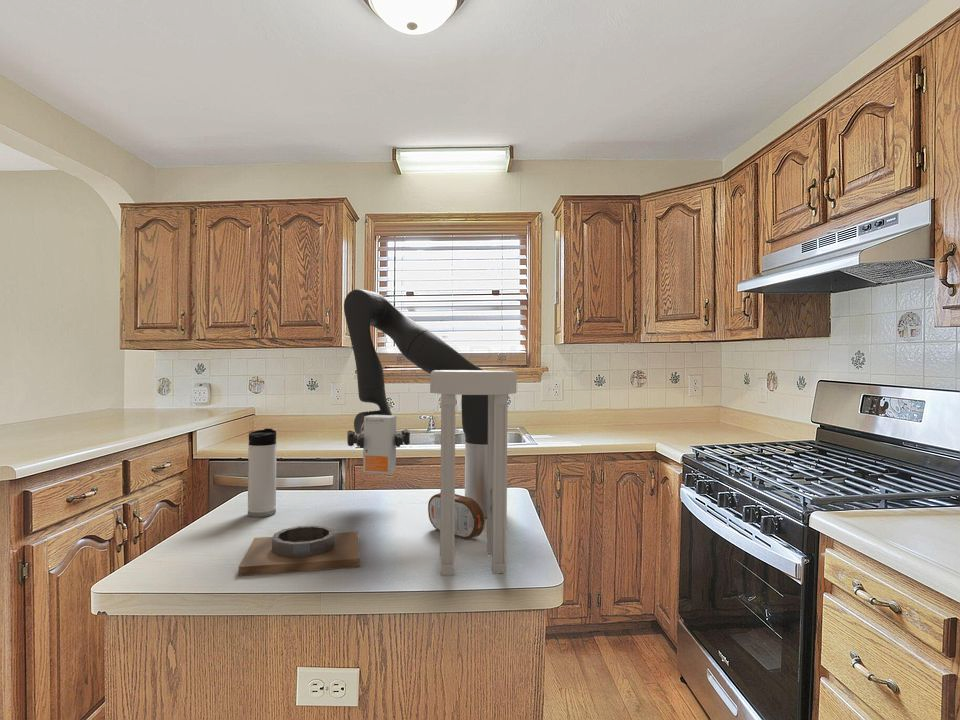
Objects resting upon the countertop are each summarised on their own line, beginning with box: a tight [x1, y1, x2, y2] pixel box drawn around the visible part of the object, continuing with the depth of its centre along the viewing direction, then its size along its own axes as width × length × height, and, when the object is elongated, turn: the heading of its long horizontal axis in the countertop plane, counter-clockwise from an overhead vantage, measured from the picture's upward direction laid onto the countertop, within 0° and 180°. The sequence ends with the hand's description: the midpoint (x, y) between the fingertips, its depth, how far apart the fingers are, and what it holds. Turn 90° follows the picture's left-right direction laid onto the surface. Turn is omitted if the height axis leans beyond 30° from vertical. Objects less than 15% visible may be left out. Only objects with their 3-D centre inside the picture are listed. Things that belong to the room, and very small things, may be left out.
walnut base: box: [238, 531, 360, 576], centre depth 104 cm, size 20×16×2 cm
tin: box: [427, 492, 486, 540], centre depth 118 cm, size 15×3×8 cm, turn 47°
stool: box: [429, 369, 518, 576], centre depth 101 cm, size 16×16×35 cm
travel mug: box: [247, 427, 277, 518], centre depth 133 cm, size 6×7×20 cm
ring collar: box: [272, 524, 336, 558], centre depth 104 cm, size 11×11×2 cm
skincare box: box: [362, 414, 397, 475], centre depth 118 cm, size 6×4×12 cm
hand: (380, 442), depth 116 cm, fingers closed on skincare box, 7 cm apart
